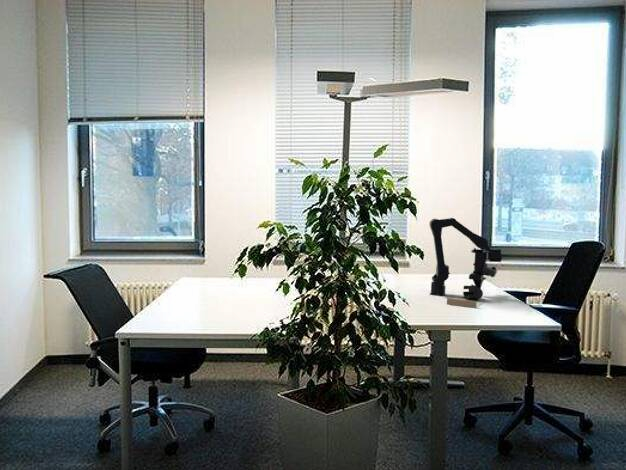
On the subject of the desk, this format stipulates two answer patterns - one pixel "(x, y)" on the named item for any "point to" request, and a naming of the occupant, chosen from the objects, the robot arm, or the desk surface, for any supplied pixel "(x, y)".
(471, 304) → the mat
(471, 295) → the end cap
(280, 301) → the desk surface
